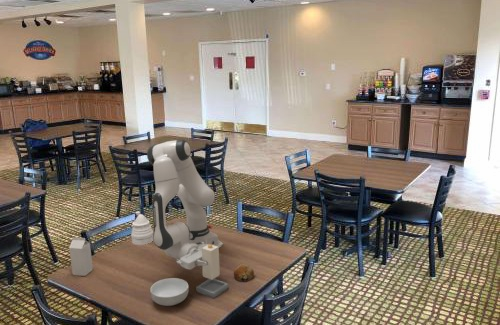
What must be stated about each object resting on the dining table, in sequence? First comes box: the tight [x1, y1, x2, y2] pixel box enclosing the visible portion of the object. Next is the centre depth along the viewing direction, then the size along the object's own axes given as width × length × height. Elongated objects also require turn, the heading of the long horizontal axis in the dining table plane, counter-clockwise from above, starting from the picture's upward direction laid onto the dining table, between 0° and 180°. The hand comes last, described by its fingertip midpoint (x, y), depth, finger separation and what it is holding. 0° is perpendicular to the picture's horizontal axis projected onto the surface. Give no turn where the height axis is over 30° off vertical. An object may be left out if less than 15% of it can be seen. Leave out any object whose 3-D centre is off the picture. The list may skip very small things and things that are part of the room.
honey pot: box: [130, 210, 154, 246], centre depth 254 cm, size 13×13×18 cm
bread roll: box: [233, 263, 255, 282], centre depth 209 cm, size 10×10×8 cm
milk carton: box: [68, 237, 94, 277], centre depth 216 cm, size 7×7×19 cm
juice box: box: [202, 244, 221, 280], centre depth 194 cm, size 6×6×15 cm
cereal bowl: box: [149, 277, 189, 307], centre depth 189 cm, size 17×17×7 cm
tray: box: [195, 278, 229, 299], centre depth 197 cm, size 10×10×2 cm
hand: (212, 261), depth 194 cm, fingers closed on juice box, 5 cm apart
